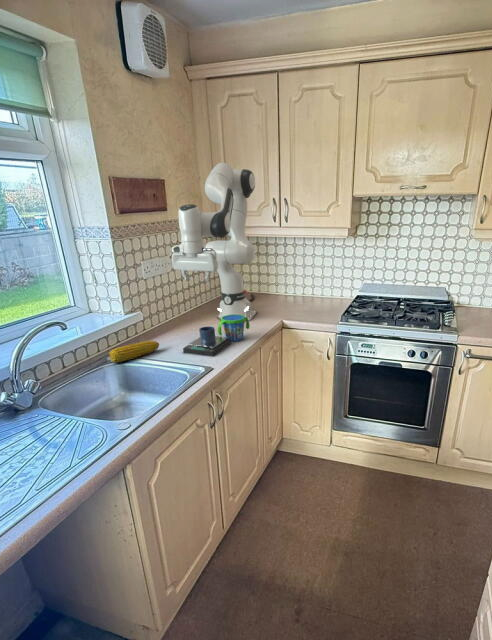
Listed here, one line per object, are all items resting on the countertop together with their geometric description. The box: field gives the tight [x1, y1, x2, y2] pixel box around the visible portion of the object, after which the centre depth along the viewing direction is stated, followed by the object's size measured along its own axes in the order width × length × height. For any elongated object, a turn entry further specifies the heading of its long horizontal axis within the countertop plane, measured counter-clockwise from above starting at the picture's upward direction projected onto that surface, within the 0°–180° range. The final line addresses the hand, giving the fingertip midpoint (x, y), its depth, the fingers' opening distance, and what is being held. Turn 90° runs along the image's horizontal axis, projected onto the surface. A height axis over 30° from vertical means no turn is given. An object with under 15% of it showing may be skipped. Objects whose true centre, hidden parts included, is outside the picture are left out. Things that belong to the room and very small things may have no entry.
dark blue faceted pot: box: [198, 326, 216, 343], centre depth 172 cm, size 6×6×5 cm
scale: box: [182, 339, 232, 357], centre depth 174 cm, size 16×14×3 cm
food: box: [108, 340, 160, 364], centre depth 165 cm, size 21×6×6 cm, turn 141°
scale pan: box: [187, 335, 228, 349], centre depth 174 cm, size 13×12×1 cm
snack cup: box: [217, 314, 251, 342], centre depth 182 cm, size 16×10×10 cm
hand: (197, 281), depth 174 cm, fingers open, 8 cm apart
